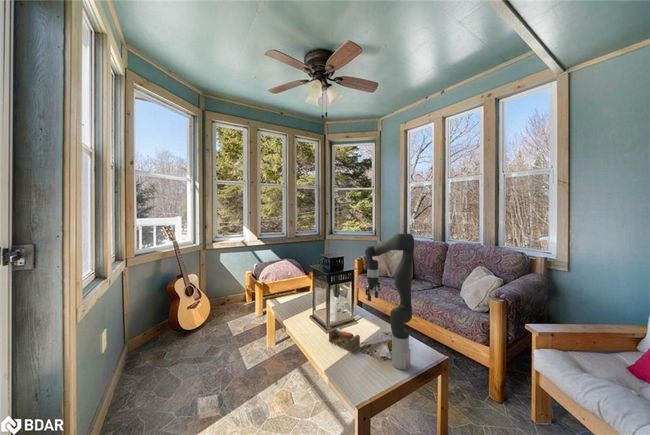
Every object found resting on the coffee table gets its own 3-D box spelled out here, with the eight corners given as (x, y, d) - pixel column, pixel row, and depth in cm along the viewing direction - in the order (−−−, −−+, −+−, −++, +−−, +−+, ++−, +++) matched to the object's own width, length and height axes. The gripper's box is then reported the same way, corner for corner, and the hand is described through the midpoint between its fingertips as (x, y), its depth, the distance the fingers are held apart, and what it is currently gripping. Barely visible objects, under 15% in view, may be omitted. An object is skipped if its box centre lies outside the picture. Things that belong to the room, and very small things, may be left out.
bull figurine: (337, 337, 170) (337, 326, 170) (354, 343, 163) (354, 331, 163) (333, 340, 167) (333, 328, 167) (351, 346, 159) (351, 334, 159)
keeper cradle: (359, 346, 162) (359, 335, 161) (351, 352, 155) (351, 341, 155) (337, 336, 175) (337, 326, 175) (328, 341, 168) (328, 330, 168)
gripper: (371, 278, 160) (371, 303, 161) (383, 274, 170) (383, 297, 171) (362, 276, 165) (362, 300, 166) (374, 272, 175) (374, 295, 176)
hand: (373, 299), depth 168 cm, fingers open, 8 cm apart
